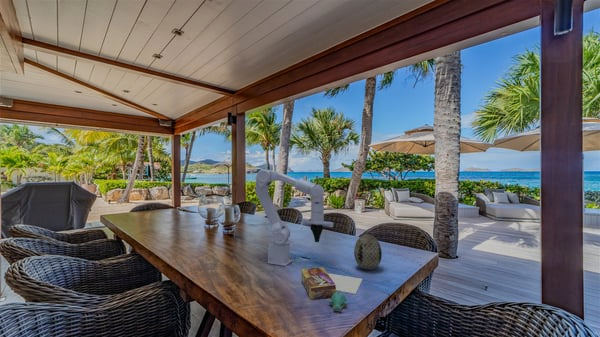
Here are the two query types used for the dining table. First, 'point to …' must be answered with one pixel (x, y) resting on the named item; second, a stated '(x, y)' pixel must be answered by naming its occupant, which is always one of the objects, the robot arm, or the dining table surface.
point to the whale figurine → (338, 301)
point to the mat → (346, 283)
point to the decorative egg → (367, 252)
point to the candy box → (318, 283)
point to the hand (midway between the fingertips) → (317, 241)
